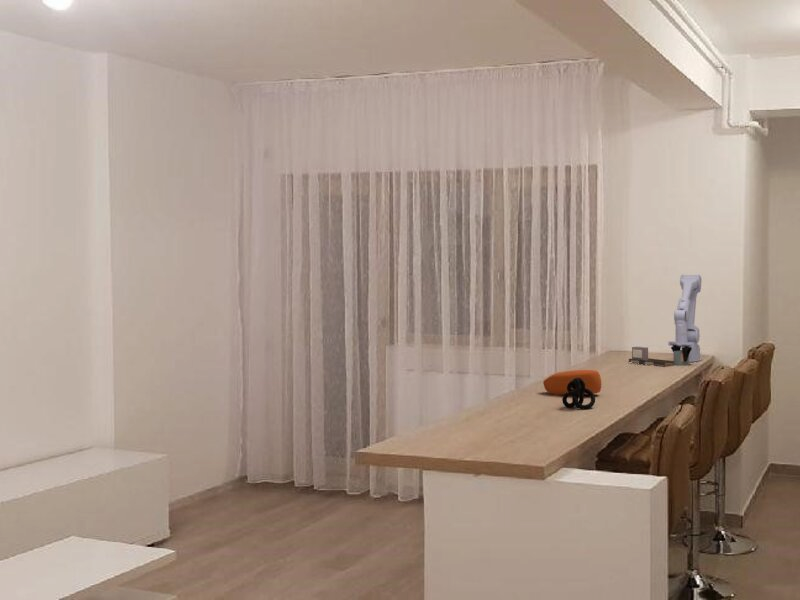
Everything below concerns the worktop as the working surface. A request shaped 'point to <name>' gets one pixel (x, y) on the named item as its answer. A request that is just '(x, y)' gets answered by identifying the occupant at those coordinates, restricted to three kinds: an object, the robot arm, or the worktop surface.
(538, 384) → the worktop surface
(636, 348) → the box
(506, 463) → the worktop surface
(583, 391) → the squiggle
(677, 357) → the box
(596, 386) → the orange rounded block
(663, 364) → the shelf ledge
